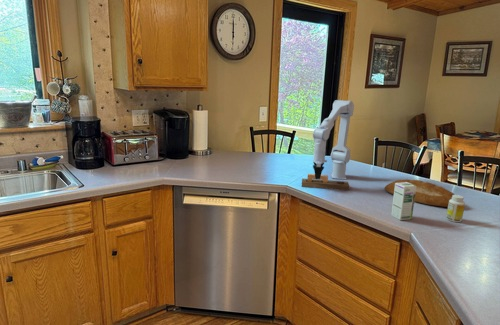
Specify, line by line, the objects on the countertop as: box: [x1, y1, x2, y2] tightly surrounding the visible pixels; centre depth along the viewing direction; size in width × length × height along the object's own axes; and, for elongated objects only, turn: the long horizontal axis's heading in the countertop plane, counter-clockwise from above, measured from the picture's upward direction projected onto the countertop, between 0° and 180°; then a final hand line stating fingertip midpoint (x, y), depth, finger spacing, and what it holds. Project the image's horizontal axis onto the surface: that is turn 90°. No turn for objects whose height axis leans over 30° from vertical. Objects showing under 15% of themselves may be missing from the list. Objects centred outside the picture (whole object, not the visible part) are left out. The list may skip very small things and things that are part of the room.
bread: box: [384, 179, 456, 208], centre depth 161 cm, size 18×35×9 cm, turn 45°
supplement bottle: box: [445, 194, 466, 223], centre depth 136 cm, size 6×6×10 cm
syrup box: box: [390, 182, 416, 221], centre depth 136 cm, size 6×6×14 cm
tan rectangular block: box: [306, 173, 329, 183], centre depth 176 cm, size 2×10×6 cm, turn 78°
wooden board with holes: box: [301, 178, 350, 191], centre depth 176 cm, size 7×24×2 cm, turn 81°
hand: (317, 177), depth 175 cm, fingers open, 7 cm apart
